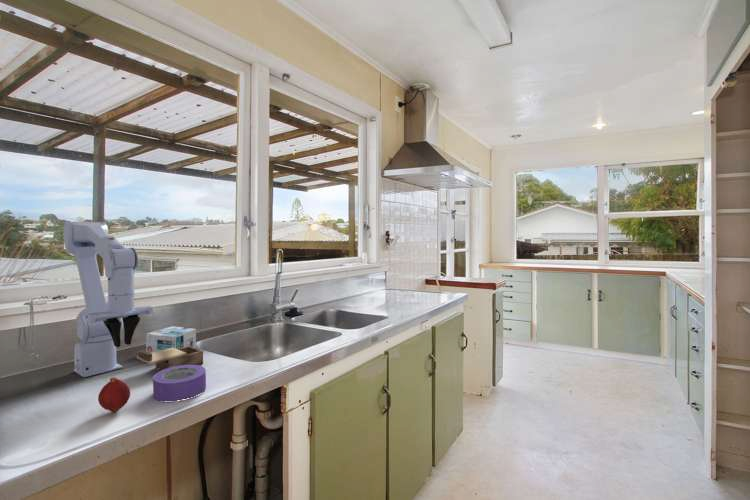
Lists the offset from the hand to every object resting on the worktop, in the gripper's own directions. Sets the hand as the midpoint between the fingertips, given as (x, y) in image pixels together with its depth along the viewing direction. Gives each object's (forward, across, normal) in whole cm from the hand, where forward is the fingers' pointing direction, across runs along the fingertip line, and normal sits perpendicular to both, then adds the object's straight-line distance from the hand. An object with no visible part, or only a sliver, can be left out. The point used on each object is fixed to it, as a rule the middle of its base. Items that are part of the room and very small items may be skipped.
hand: (122, 345), depth 100 cm
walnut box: (+10, +15, 0) cm, 18 cm away
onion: (+10, -8, -17) cm, 21 cm away
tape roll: (+10, +6, -18) cm, 22 cm away
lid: (+6, +10, 0) cm, 12 cm away
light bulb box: (+7, +26, +18) cm, 32 cm away
